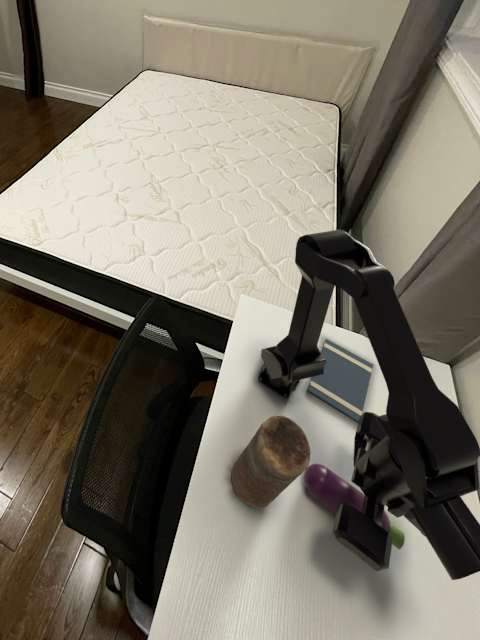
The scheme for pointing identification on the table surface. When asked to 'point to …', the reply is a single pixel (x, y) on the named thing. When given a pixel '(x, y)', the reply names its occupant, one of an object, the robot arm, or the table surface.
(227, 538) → the table surface
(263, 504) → the brown textured cylinder
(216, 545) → the table surface
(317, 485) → the eggplant
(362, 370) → the towel
